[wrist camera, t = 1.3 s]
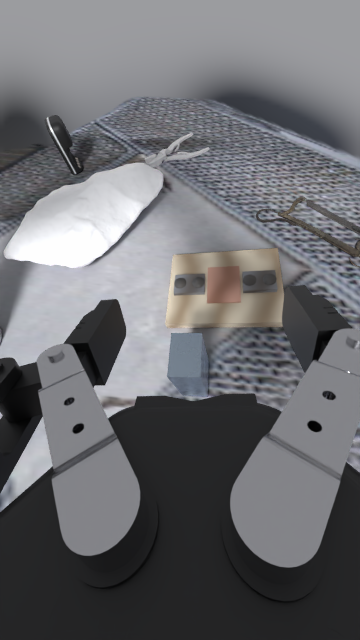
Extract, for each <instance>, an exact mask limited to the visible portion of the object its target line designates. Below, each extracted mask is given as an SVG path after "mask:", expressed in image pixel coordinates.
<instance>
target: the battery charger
mask: <svg viewBox="0 0 360 640" xmlns="http://www.w3.org/2000/svg"><path fill="white" fill-rule="evenodd" d="M45 124H46V127H47V130H48V132H49V134H50V136H51V137H52V139H53V141H54V143H55V145H56V146H57V148H58V150H59V152H60V153H61V155H62V157H63V159H64V160H65V162H66V164H67V166H68V167H69V169H70V171H71V173H72V174H73V175H74V174H77V173H79V172H81V171H82V170H83V168H82V165H81V162H80V160H79V159H78V158H76V157H75V156H74V155H73V154H72V153H71V152H70V149H69V148H70V147H71V146H72V145H73V144H72V140H71V137H70V134H69V132H68V130H67V129H66V127H65V125H64V123H63V122H62V120H61V119H60V117H59V116H57V115H54V116H51V117H47V118H46V119H45Z"/></svg>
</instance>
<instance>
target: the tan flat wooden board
mask: <svg viewBox="0 0 360 640" xmlns="http://www.w3.org/2000/svg"><path fill="white" fill-rule="evenodd" d="M283 302H284V290H283V283H282V276H281V269H280V261H279V254H278V248H271V249H256V250H241V251H226V252H210V253H195V254H180V255H173V260H172V269H171V278H170V287H169V296H168V305H167V314H166V323H165V324H166V326H167V328H219V327H283V325H282V311H283Z"/></svg>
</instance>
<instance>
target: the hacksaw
mask: <svg viewBox="0 0 360 640" xmlns="http://www.w3.org/2000/svg"><path fill="white" fill-rule="evenodd" d="M305 199H307V198H305V197H304V198H303V196H302V197H300V198H297V199H296V201H294V203H293V204H292V206H291V208H290V209H289V210H287V211H284V212H282V213H279V212H278V215H279V216H281V217H283V218H285V219H282V218H281V219H280V218H279V219H272V220H261V219H259V217H258V214H259V213H260V212H261V211H263V210H271V209H262V210H259V211H258V212H257V214H256V218H257V219H258V220H259V221H261V222H271V221H276V220H283V221H286V222H288V223H290V224H291V225H293V226H296V224H297V225H299V226H300V227H303V228H306V230H308V231H310V232H312V233H314V234H315V235H317V236H319V237H320V238H323V239H325V240H326V241H327V242H329V243H331V244H333V245H334V246H336V247H338V248H340V249H341V250H343V251H344V252H346V253H348V254H350V255H352V256H353V257H360V241H359V242H358V243H357V245H356V249H355V248H353V247H350V246H349V245H347V244H345V243H343V242H342V241H339V240H338V239H336V238H334V237H332V236H330V235H328V234H326V233H324V232H323V231H321V230H318V229H317V228H315V227H313V226H311V225H309V224H307V223H305V222H303V221H301V220H299V219H296V218H294V217H291V216H290V215H288V214H289V213H291V212H292V211H293V210H294V209H295V206H296V205H297V204H298V203H300V202H302V201H304V200H305ZM307 206H309V207H311V208H313V209H314V210H316V211H318V212H320V213H321V214H323V215H325V216H327V217H328V218H330V219H332V220H334V221H336V222H338V223H339V224H341V225H343V226H345V227H347V228H349V229H351V230H352V231H354V232H356V233H358V234H360V227H358V226H356V225H354V224H353V223H351V222H349V221H346V220H345V219H343V218H341V217H339V216H337V215H335V214H333V213H331V212H330V211H327V210H326V209H323V208H322V207H320V206H318V205H316V204H314V203H312V202H310V201H308V200H307ZM271 211H273V210H271ZM274 213H277V212H275V211H274ZM286 219H288V220H286ZM355 240H357V239H355ZM349 259H350V257H349ZM350 261H351V259H350ZM351 263H352V261H351ZM352 264H353V263H352ZM353 265H355V264H353ZM355 266H357V265H355ZM357 267H360V266H357Z"/></svg>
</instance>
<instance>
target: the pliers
mask: <svg viewBox="0 0 360 640" xmlns="http://www.w3.org/2000/svg"><path fill="white" fill-rule="evenodd" d="M191 136H193V133H191V134H188V135H185V136H183V137H181V138H179V139H178V140H176V141H175V142H173V143H172V144H171V145H170V146H169V147H168V149H163V150H161V151H160V153H159V154H158V155H156V154H154V155H151V156H149V157H146V158H145V162H146V164H148V165H149V166H150V167H152V168H154V167H156V166H158V165H160V164H162V161H169V160H183V159H188V158H192V157H195V156H198V155H200V154H203V153H204V152H206V151H208V150H209V147H208V148H206V149H203V150H200V151H197V152H194V153H188V152H177V154H185V155H173V156H170V157H167V156H166V155H169V154H170V153H172V151H173V149H174V148H175V147H176V146H177V145H178V147H177V148H176V149H175V152H176V151H177V150H178V149H179V144H180V143H181V142H182V141H184V140H185V139H187V138H189V137H191Z"/></svg>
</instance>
